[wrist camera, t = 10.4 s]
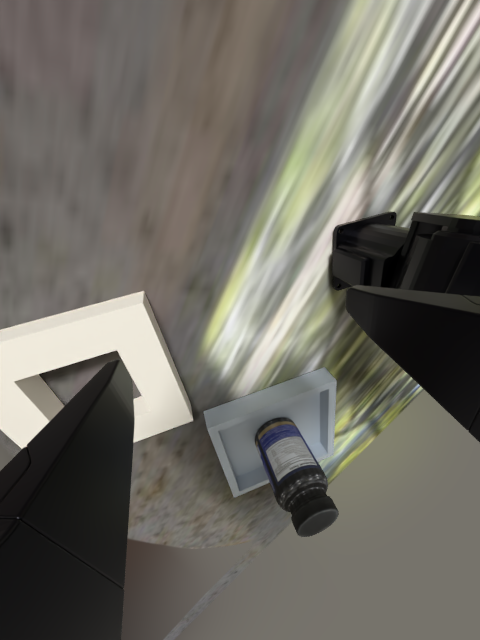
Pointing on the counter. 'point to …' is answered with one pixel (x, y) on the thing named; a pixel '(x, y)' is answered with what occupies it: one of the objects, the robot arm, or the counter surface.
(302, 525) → the pill bottle
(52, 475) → the robot arm
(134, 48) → the counter surface
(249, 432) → the tray
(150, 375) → the white square frame
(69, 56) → the counter surface
